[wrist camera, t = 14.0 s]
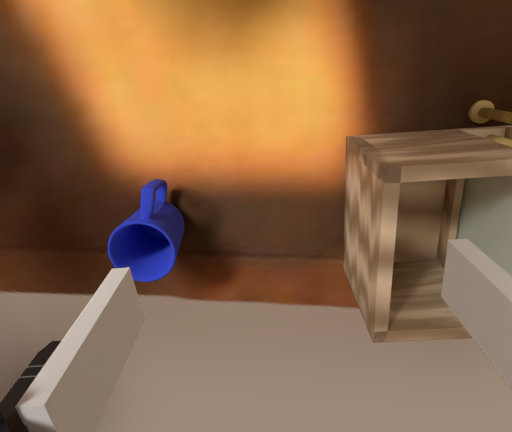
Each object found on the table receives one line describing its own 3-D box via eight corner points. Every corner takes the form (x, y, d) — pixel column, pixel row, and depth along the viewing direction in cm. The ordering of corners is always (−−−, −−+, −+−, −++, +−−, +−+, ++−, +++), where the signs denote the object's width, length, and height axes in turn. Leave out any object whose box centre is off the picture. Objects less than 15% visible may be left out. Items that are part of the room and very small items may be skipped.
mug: (196, 172, 50) (182, 196, 41) (187, 249, 54) (172, 287, 45) (136, 162, 49) (108, 184, 40) (132, 240, 54) (106, 276, 45)
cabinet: (347, 109, 46) (387, 129, 32) (516, 97, 46) (637, 112, 31) (343, 268, 55) (373, 342, 41) (484, 261, 54) (567, 333, 40)
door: (466, 132, 46) (546, 158, 33) (507, 130, 46) (604, 155, 33) (447, 259, 53) (508, 322, 40) (482, 257, 53) (555, 320, 40)
